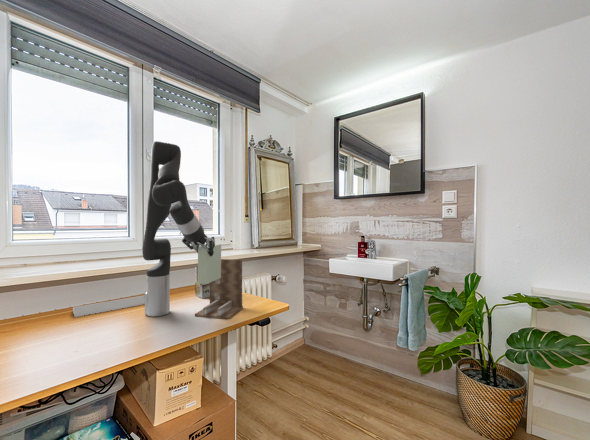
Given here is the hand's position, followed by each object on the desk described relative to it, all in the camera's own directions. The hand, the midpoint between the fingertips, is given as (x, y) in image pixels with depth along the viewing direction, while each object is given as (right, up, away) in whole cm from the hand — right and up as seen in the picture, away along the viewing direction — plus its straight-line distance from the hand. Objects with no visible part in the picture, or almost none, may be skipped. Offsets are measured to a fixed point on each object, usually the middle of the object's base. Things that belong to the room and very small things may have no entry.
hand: (206, 254), depth 119 cm
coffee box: (-13, -27, +37) cm, 48 cm away
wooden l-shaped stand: (+3, -27, +10) cm, 29 cm away
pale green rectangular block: (0, -12, +3) cm, 12 cm away
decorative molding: (-49, -28, +19) cm, 59 cm away
